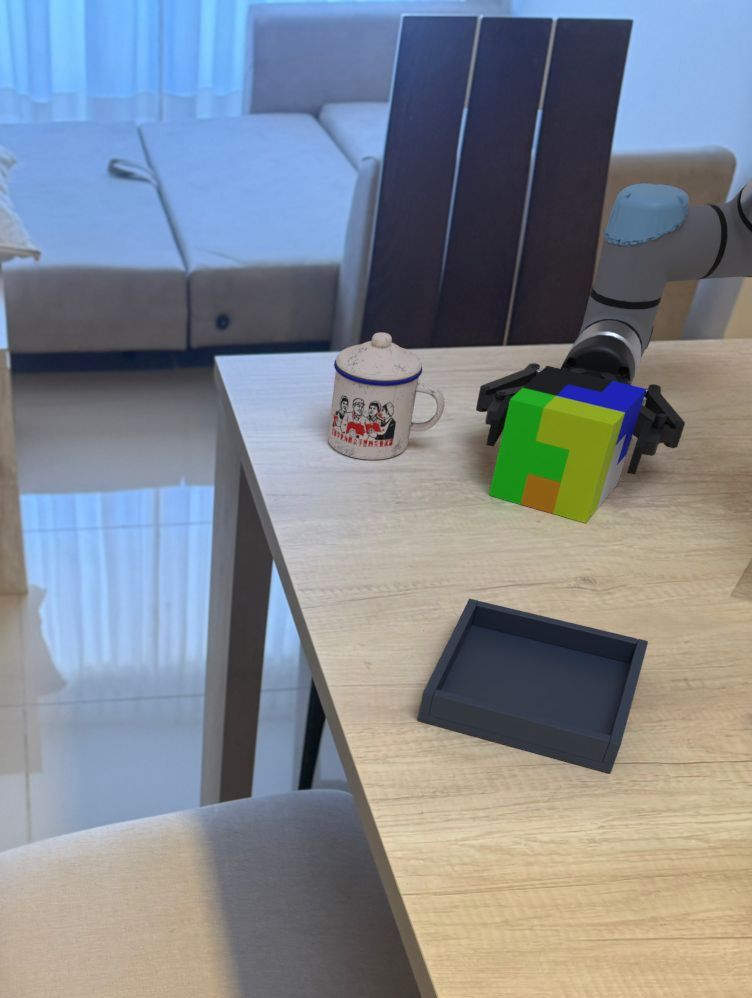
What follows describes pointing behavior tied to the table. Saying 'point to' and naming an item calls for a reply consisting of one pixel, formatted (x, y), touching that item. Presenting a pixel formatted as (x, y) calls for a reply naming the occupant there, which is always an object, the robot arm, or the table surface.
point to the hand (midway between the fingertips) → (562, 446)
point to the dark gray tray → (535, 684)
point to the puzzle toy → (565, 442)
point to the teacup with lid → (377, 399)
